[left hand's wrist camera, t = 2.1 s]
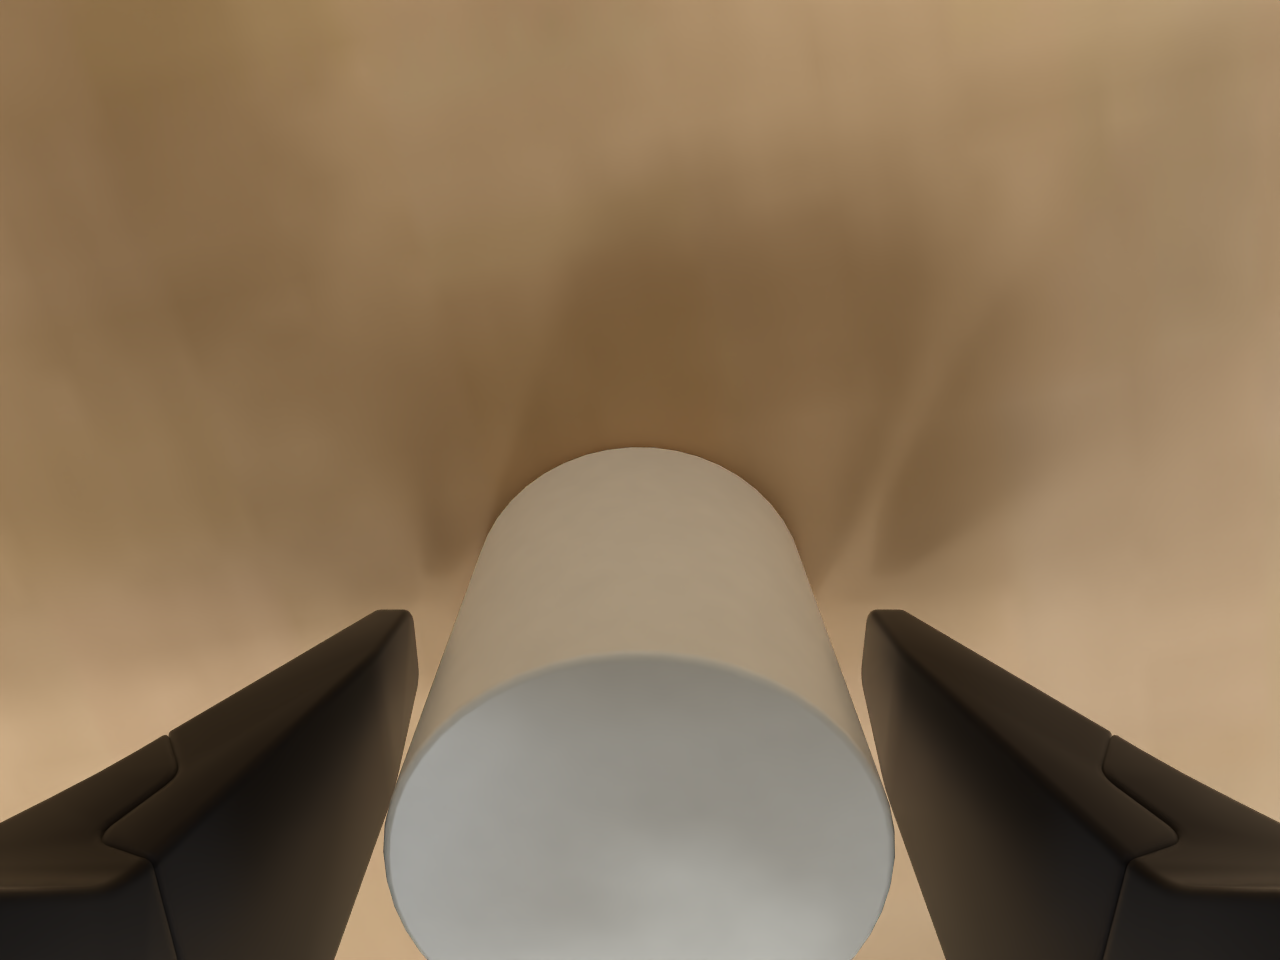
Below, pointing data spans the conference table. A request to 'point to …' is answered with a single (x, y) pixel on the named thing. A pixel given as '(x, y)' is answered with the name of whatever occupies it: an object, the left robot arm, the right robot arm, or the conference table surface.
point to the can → (639, 738)
